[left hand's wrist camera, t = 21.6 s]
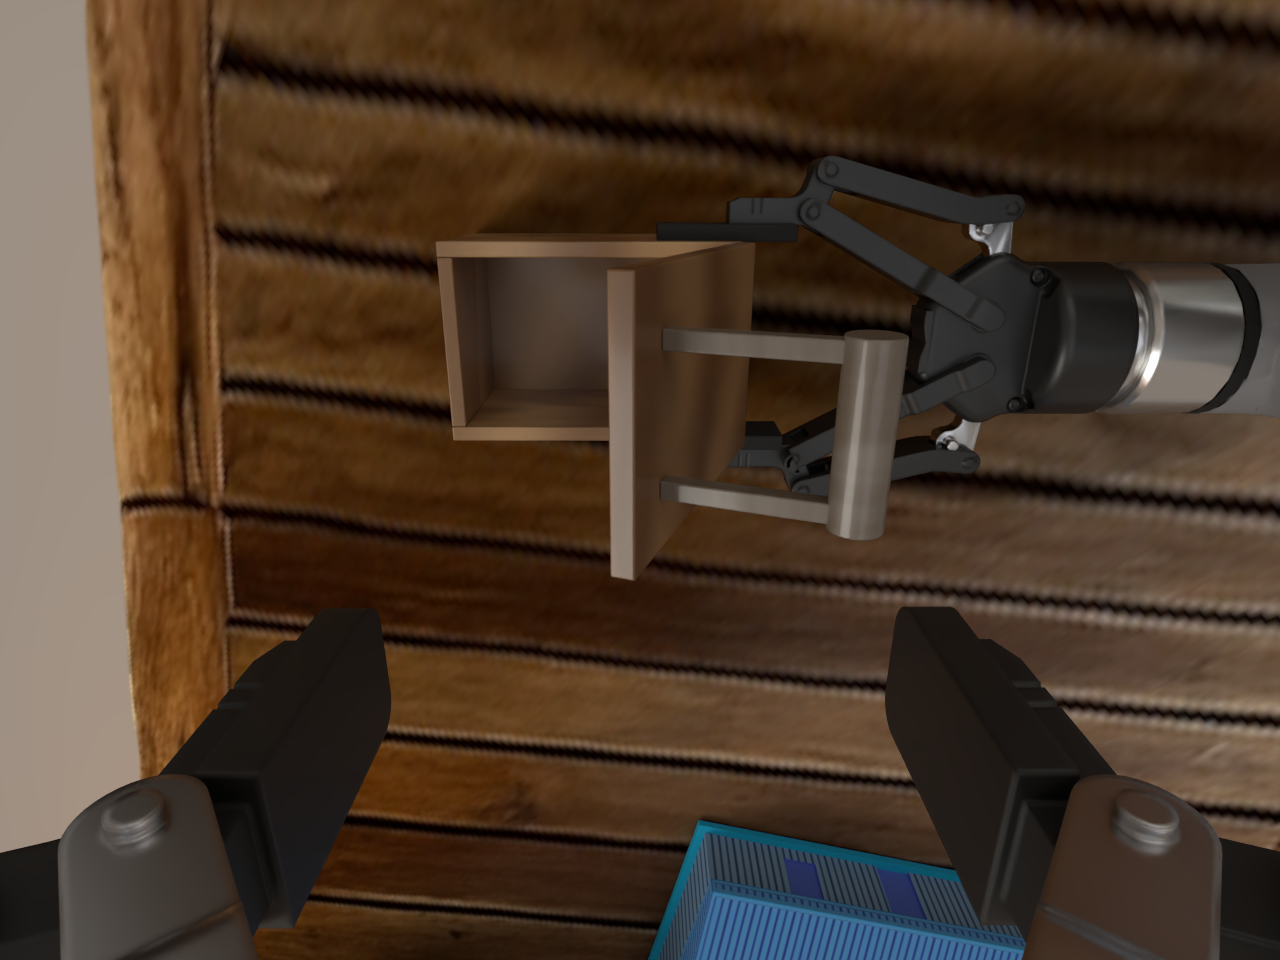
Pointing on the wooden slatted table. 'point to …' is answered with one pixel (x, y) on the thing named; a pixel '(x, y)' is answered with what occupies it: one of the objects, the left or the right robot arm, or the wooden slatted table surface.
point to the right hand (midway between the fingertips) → (656, 338)
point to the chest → (534, 330)
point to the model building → (818, 905)
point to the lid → (728, 404)
